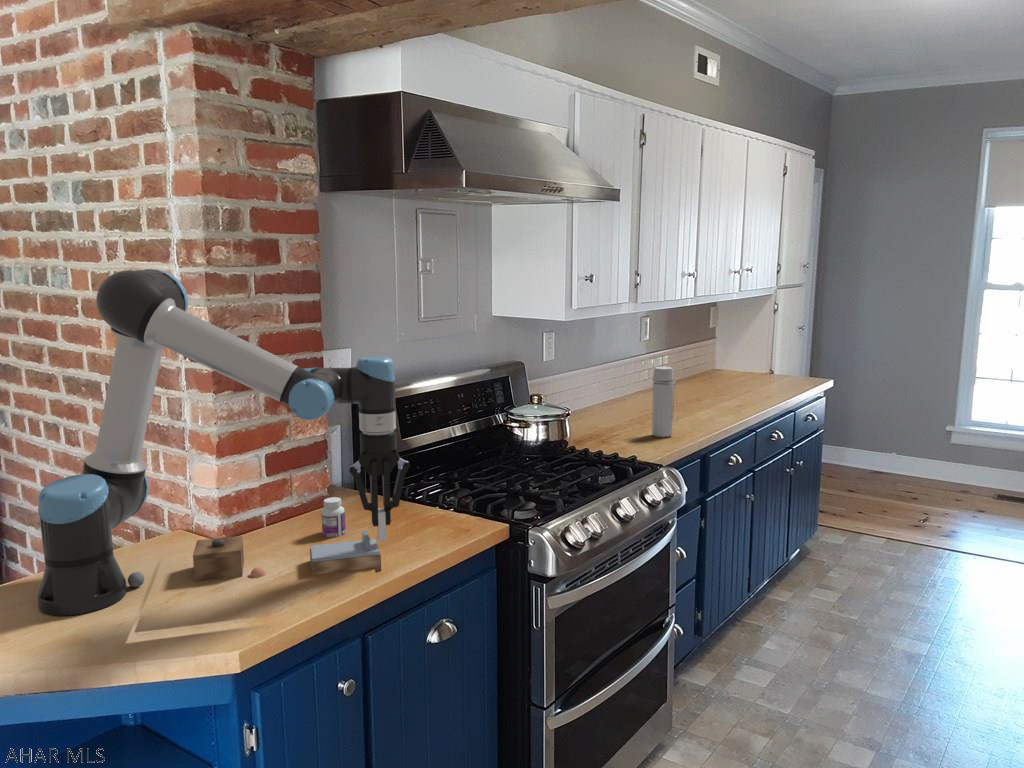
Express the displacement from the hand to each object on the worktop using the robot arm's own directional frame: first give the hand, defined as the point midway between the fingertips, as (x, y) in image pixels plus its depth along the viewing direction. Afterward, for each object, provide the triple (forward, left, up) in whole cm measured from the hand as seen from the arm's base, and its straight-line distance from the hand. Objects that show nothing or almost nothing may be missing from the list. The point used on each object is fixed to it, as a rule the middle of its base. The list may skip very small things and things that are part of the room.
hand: (381, 539), depth 168 cm
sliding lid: (-8, 0, -2) cm, 8 cm away
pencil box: (-8, 0, -6) cm, 10 cm away
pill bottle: (-9, +20, -6) cm, 23 cm away
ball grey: (-49, +4, -4) cm, 49 cm away
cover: (-33, +4, -6) cm, 34 cm away
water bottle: (+114, +93, -6) cm, 147 cm away
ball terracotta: (-25, -1, -4) cm, 26 cm away
